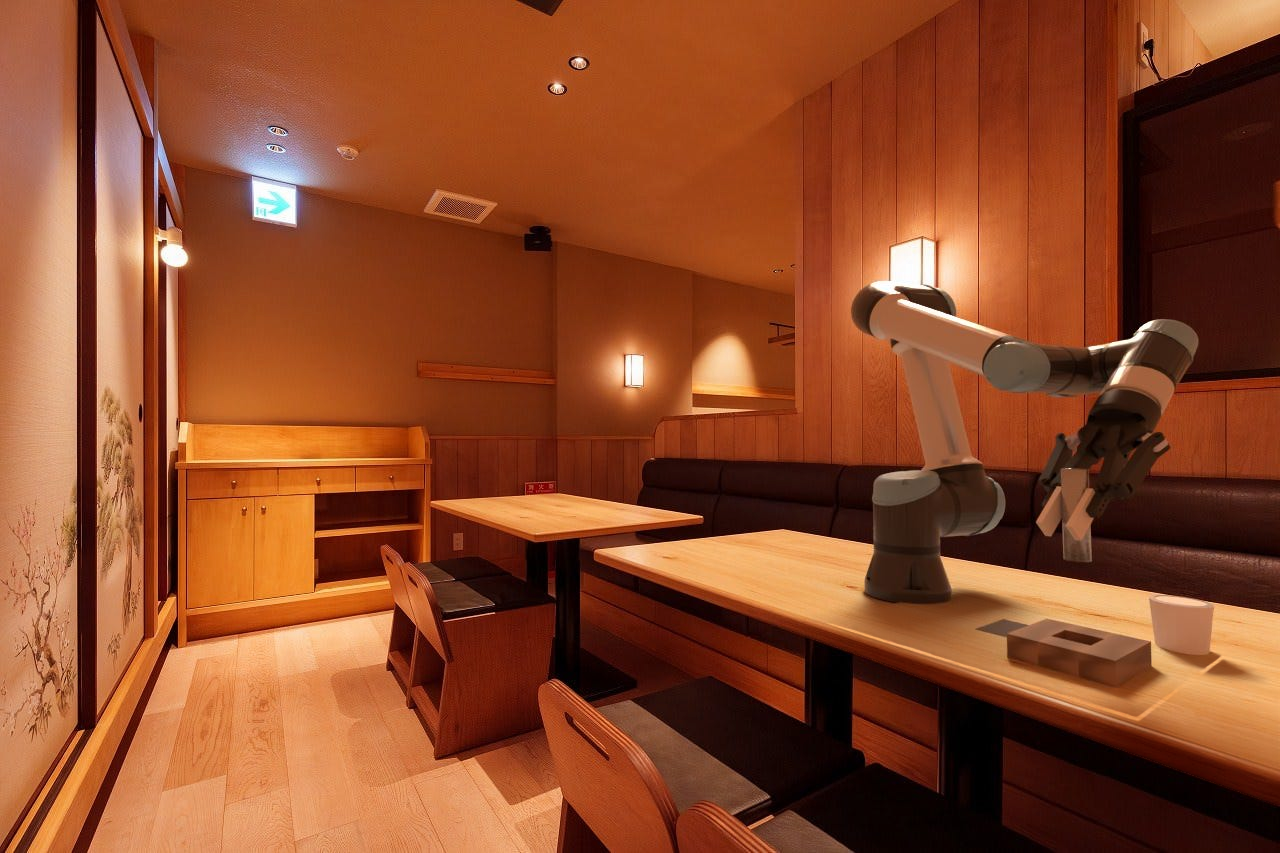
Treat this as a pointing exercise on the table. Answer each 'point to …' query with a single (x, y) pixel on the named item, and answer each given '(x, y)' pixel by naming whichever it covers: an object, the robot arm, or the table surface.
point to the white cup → (1182, 623)
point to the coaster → (1002, 627)
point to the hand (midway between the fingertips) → (1058, 531)
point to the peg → (1072, 491)
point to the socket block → (1080, 651)
